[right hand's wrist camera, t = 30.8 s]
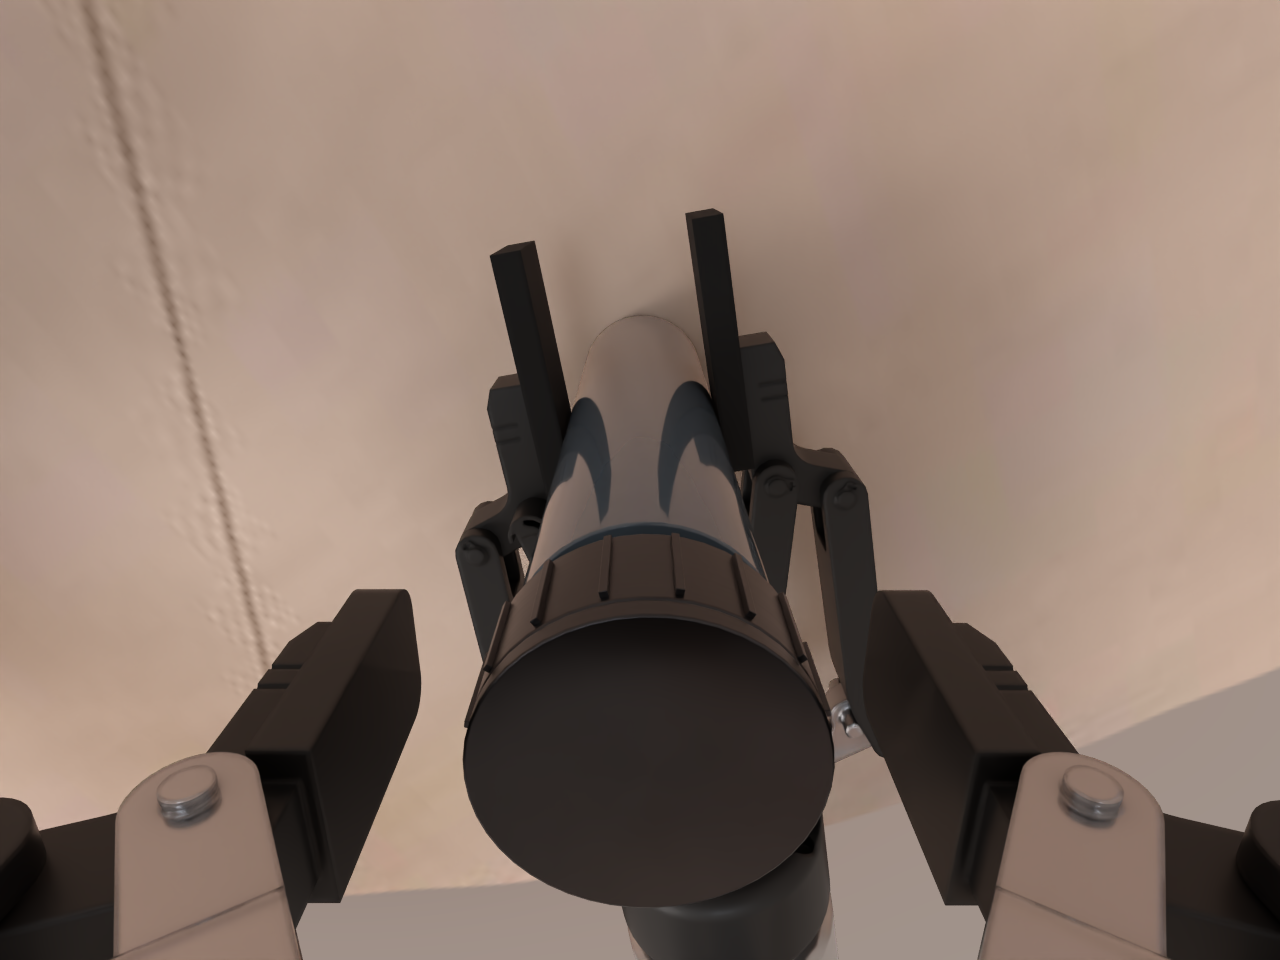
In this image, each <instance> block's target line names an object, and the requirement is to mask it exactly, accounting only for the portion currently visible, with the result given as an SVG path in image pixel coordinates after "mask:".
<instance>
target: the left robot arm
mask: <svg viewBox="0 0 1280 960" xmlns="http://www.w3.org/2000/svg"><path fill="white" fill-rule="evenodd" d="M685 215H686V222H687V229H688V236H689V243H690V250H691V257H692V264H693V271H694V278H695V286H696V293H697V300H698V307H699V314H700V321H701V328H702V335H703V342H704V349H705V356H706V363H707V371H708V378H709V385H710V392H711V399H712V402H713V406H714V409H715V412H716V415H717V418H718V421H719V425H720V428H721V431H722V434H723V437H724V441H725V444H726V447H727V450H728V453H729V456H730V460H731V463H732V466H733V469H734V472H736V471H742V480H741V490H740V491H741V495H742V498H743V501H744V504H745V507H746V511H747V514H748V517H749V520H750V523H751V526H752V530H753V533H754V536H755V539H756V542H757V546H758V549H759V552H760V555H761V558H762V561H763V565H764V568H765V571H766V574H767V577H768V581H769V584H770V585H771V586H772V587H773V588H774V589H775V591H776V592H777V593H778V594H779V593H781V592H783V593H784V594H785V595H786V588H787V580H788V572H789V564H790V556H791V548H792V541H793V533H794V525H795V517H796V509H797V504H801V505H807V506H811V513H812V521H813V528H814V536H815V544H816V552H817V559H818V567H819V575H820V583H821V590H822V598H823V606H824V613H825V621H826V629H827V637H828V644H829V650H830V655H831V659H832V661H833V664H834V667H835V670H836V672H837V675H838V677H839V678H835V679H833V680H831V681H830V683H829V690H828V691H827V693H826V698H827V701H828V704H829V707H830V709H831V716H829V717H827V719H828V722H829V725H830V727H831V732H832V737H833V743H834V757H835V763H836V762H838V761H840V760H842V759H844V758H847V757H849V756H851V755H853V754H855V753H857V752H860V751H862V750H864V749H866V748H868V747H871V746H872V747H873V749H874V751H875V752H876V753H877V754H878V755H879V756H881V757H884V756H883V754H882V752H881V749H880V747H879V744H878V742H877V740H876V737H875V735H874V732H873V730H872V728H871V725H870V723H869V720H868V718H867V714H866V710H865V706H864V699H863V672H864V664H865V656H866V649H867V641H868V633H869V626H870V618H871V610H872V604H873V599H874V596H875V594H876V593H877V582H876V572H875V562H874V552H873V542H872V532H871V521H870V511H869V501H868V493H867V490H866V487H865V485H864V484H863V483H862V481H861V480H860V478H859V477H858V476H857V474H856V473H855V471H854V470H853V469H852V467H851V466H850V464H849V463H848V462H847V460H846V459H845V457H844V456H843V455H842V454H841V453H840V452H839V451H838V450H835V449H833V448H822V449H820V450H811V449H805V448H802V447H798V446H797V445H795V444H793V440H792V430H791V420H790V411H789V401H788V391H787V383H786V372H785V362H784V358H783V357H782V355H781V353H780V351H779V349H778V347H777V346H776V344H775V342H774V341H773V340H772V338H771V337H770V336H769V334H768V333H767V332H761V333H755V334H749V335H743V336H738V328H737V320H736V312H735V304H734V296H733V288H732V280H731V272H730V264H729V256H728V248H727V240H726V232H725V223H724V215H723V213H721V212H719V211H717V210H715V209H713V208H712V209H707V210H701V211H695V212H690V213H685ZM490 259H491V263H492V268H493V272H494V276H495V280H496V285H497V289H498V293H499V297H500V302H501V306H502V310H503V314H504V319H505V323H506V327H507V331H508V335H509V340H510V344H511V348H512V352H513V357H514V361H515V365H516V369H517V374H512V375H506V376H500V377H498V379H497V380H496V382H495V383H494V385H493V386H492V387H491V389H490V392H489V399H488V406H487V411H488V415H489V419H490V423H491V427H492V429H493V434H494V438H495V442H496V446H497V450H498V454H499V458H500V462H501V466H502V470H503V474H504V478H505V481H506V485H507V490H508V493H507V494H506V495H504V496H503V497H501V498H499V499H497V500H495V501H487V502H484V503H481V504H480V505H478V506H477V507H476V508H475V510H474V512H473V514H472V516H471V518H470V520H469V522H468V524H467V526H466V528H465V530H464V532H463V534H462V536H461V538H460V541H459V543H458V545H457V548H456V550H455V552H456V561H457V564H458V568H459V572H460V576H461V580H462V584H463V587H464V591H465V595H466V599H467V603H468V607H469V610H470V614H471V618H472V622H473V626H474V630H475V634H476V637H477V641H478V645H479V649H480V653H481V657H482V660H483V662H484V658H485V655H486V653H487V652H488V651H489V648H490V645H491V642H492V638H493V635H494V632H495V629H496V626H497V623H498V619H499V616H500V613H501V610H502V607H503V605H504V603H505V601H508V602H510V603H511V602H512V600H513V599H514V597H515V596H516V594H517V593H518V592H519V591H520V590H521V589H522V587H523V584H524V580H525V577H524V573H523V568H522V564H521V559H520V555H519V550H518V549H519V548H521V547H522V548H523V550H524V552H525V554H526V556H527V558H528V560H529V562H530V559H531V555H532V552H533V548H534V544H535V541H536V537H537V534H538V530H539V527H540V523H541V519H542V516H543V512H544V509H545V505H546V502H547V498H548V494H549V491H550V487H551V484H552V480H553V477H554V473H555V469H556V466H557V462H558V459H559V455H560V452H561V448H562V444H563V441H564V437H565V434H566V430H567V427H568V423H569V419H570V416H571V409H570V404H569V400H568V395H567V390H566V385H565V381H564V376H563V371H562V367H561V362H560V357H559V353H558V348H557V343H556V339H555V334H554V329H553V325H552V320H551V315H550V311H549V306H548V301H547V297H546V292H545V287H544V282H543V278H542V273H541V268H540V264H539V259H538V254H537V250H536V245H535V241H530V242H524V243H519V244H513V245H508V246H506V247H504V248H502V249H501V250H499V251H497V252H495V253H494V254H492V255H490ZM622 909H623V913H624V916H625V919H626V922H627V925H628V932H629V936H630V940H631V944H632V949H633V953H634V956H635V960H839V958H838V950H837V941H836V932H835V924H834V915H833V908H832V900H831V894H830V878H829V869H828V860H827V851H826V842H825V832H824V823H823V814H821V816H820V818H819V820H818V822H817V824H816V825H815V827H814V828H813V829H812V831H811V832H810V834H809V835H808V837H807V838H806V839H805V841H804V842H803V843H802V844H801V845H800V846H799V847H798V848H797V849H796V850H795V851H794V852H793V854H792V855H790V856H789V857H788V858H787V859H786V860H785V861H783V862H782V863H781V864H780V865H779V866H777V867H776V868H775V869H773V870H772V871H770V872H769V873H767V874H766V875H764V876H763V877H761V878H760V879H758V880H756V881H754V882H752V883H750V884H748V885H746V886H744V887H742V888H740V889H738V890H735V891H733V892H730V893H728V894H725V895H722V896H720V897H716V898H713V899H709V900H705V901H702V902H698V903H692V904H686V905H680V906H672V907H659V908H638V907H624V906H622Z"/></svg>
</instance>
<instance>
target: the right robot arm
mask: <svg viewBox="0 0 1280 960" xmlns="http://www.w3.org/2000/svg"><path fill="white" fill-rule="evenodd" d="M1027 686H1028V685H1027V684H1026V683H1025V681H1024V680H1023V679H1022V677H1021V676H1020V675H1019V673H1018V672H1017V671H1013V665H1012V664H1011V663H1010V661H1009V660H1008V659H1007V657H1006V656H1005V655H1004V653H1003V652H1002V651H1001V649H1000V648H999V647H998V645H997V644H996V643H995V642H993V641H992V640H991V639H989V638H988V637H986V636H985V635H983V634H982V633H980V632H979V631H977V630H976V629H975V628H973V627H972V626H970V625H969V624H967V623H952V622H951V620H950V619H949V617H948V616H947V614H946V613H945V611H944V610H943V608H942V607H941V606H940V604H939V603H938V601H937V600H936V598H935V597H934V595H933V594H932V593H931V592H930V591H927V590H880V591H878V592H877V593H876V594H875V596H874V599H873V604H872V610H871V618H870V626H869V633H868V641H867V649H866V656H865V664H864V672H863V699H864V706H865V710H866V714H867V718H868V720H869V723H870V725H871V728H872V730H873V732H874V735H875V737H876V740H877V742H878V744H879V747H880V749H881V752H882V754H883V756H884V759H885V761H886V764H887V766H888V769H889V771H890V773H891V776H892V778H893V781H894V783H895V785H896V788H897V790H898V793H899V795H900V797H901V800H902V802H903V805H904V807H905V810H906V812H907V814H908V817H909V819H910V821H911V824H912V826H913V829H914V831H915V834H916V836H917V838H918V841H919V843H920V846H921V848H922V850H923V853H924V855H925V858H926V860H927V863H928V865H929V867H930V870H931V872H932V875H933V877H934V879H935V882H936V884H937V887H938V889H939V891H940V894H941V896H942V899H943V901H944V904H945V905H978V906H979V908H980V910H981V912H982V915H983V917H984V919H985V921H986V924H985V928H984V932H983V937H982V941H981V945H980V950H979V954H978V959H977V960H1280V800H1278V801H1270V802H1266V803H1263V804H1261V805H1259V806H1258V807H1256V808H1255V810H1254V811H1253V812H1252V814H1251V817H1250V819H1249V822H1248V824H1247V827H1246V830H1245V832H1240V831H1236V830H1231V829H1227V828H1222V827H1218V826H1214V825H1210V824H1205V823H1201V822H1196V821H1192V820H1188V819H1183V818H1179V817H1175V816H1171V815H1168V814H1165V813H1163V812H1162V810H1161V807H1160V805H1159V804H1158V802H1157V801H1156V799H1155V798H1154V797H1153V796H1152V794H1151V793H1150V792H1149V791H1148V790H1147V789H1146V788H1145V787H1144V786H1143V785H1141V784H1140V783H1139V782H1138V781H1137V780H1135V779H1134V778H1132V777H1131V776H1130V775H1128V774H1127V773H1125V772H1123V771H1121V770H1120V769H1118V768H1116V767H1114V766H1112V765H1110V764H1108V763H1106V762H1103V761H1100V760H1098V759H1095V758H1092V757H1088V756H1085V755H1080V754H1079V753H1078V752H1077V751H1076V749H1075V748H1074V747H1073V745H1072V744H1071V743H1070V741H1069V740H1068V739H1067V737H1066V736H1065V735H1064V733H1063V732H1062V731H1061V729H1060V728H1059V727H1058V725H1057V724H1056V723H1055V721H1054V720H1053V719H1052V717H1051V716H1050V715H1049V713H1048V712H1047V711H1046V709H1045V708H1044V707H1043V705H1042V704H1041V703H1040V701H1039V700H1038V699H1037V697H1036V696H1035V695H1034V693H1033V692H1032V691H1031V690H1028V688H1027ZM420 696H421V672H420V664H419V657H418V649H417V641H416V633H415V625H414V617H413V610H412V603H411V598H410V595H409V593H408V591H407V590H405V589H357V590H355V591H353V592H352V593H351V595H350V596H349V598H348V599H347V601H346V602H345V604H344V605H343V607H342V608H341V610H340V611H339V612H338V614H337V615H336V617H335V618H334V620H333V621H332V622H317V623H315V624H314V625H312V626H311V627H310V628H308V629H307V630H305V631H304V632H302V633H301V634H299V635H298V636H297V637H295V638H294V639H292V640H291V641H289V642H288V644H287V645H286V646H285V648H284V649H283V651H282V652H281V653H280V655H279V656H278V657H277V659H276V660H275V661H274V663H273V664H272V669H268V671H267V672H266V673H265V675H264V676H263V677H262V679H261V680H260V681H259V683H258V688H257V689H254V690H253V691H252V692H251V694H250V695H249V696H248V698H247V699H246V700H245V702H244V703H243V704H242V706H241V707H240V708H239V710H238V711H237V712H236V714H235V715H234V716H233V718H232V719H231V721H230V722H229V723H228V725H227V726H226V727H225V729H224V730H223V731H222V733H221V734H220V735H219V737H218V738H217V739H216V741H215V742H214V743H213V745H212V746H211V747H210V749H209V750H208V751H207V753H205V754H200V755H195V756H192V757H188V758H185V759H182V760H180V761H177V762H174V763H172V764H170V765H168V766H166V767H164V768H162V769H160V770H159V771H157V772H155V773H153V774H152V775H150V776H149V777H148V778H146V779H145V780H143V781H142V782H141V783H140V784H139V785H137V786H136V787H135V788H134V789H133V790H132V791H131V792H130V793H129V794H128V796H127V797H126V798H125V799H124V801H123V802H122V804H121V805H120V807H119V810H118V812H117V813H114V814H110V815H106V816H102V817H97V818H93V819H89V820H84V821H80V822H76V823H71V824H67V825H63V826H58V827H54V828H49V829H45V830H41V831H39V830H38V827H37V825H36V822H35V820H34V817H33V814H32V812H31V810H30V808H29V807H28V806H27V805H26V804H25V803H23V802H21V801H19V800H15V799H12V798H0V960H303V959H302V954H301V950H300V945H299V941H298V937H297V933H296V927H297V925H298V923H299V921H300V919H301V916H302V914H303V912H304V910H305V908H306V905H307V903H340V902H341V900H342V897H343V895H344V892H345V890H346V888H347V885H348V883H349V880H350V878H351V875H352V873H353V870H354V868H355V865H356V863H357V861H358V858H359V856H360V853H361V851H362V848H363V846H364V843H365V841H366V839H367V836H368V834H369V831H370V829H371V826H372V824H373V821H374V819H375V817H376V814H377V812H378V809H379V807H380V804H381V802H382V799H383V797H384V795H385V792H386V790H387V787H388V785H389V782H390V780H391V777H392V775H393V773H394V770H395V768H396V765H397V763H398V760H399V758H400V755H401V753H402V750H403V748H404V746H405V743H406V741H407V738H408V736H409V733H410V731H411V728H412V726H413V724H414V721H415V719H416V716H417V712H418V708H419V703H420Z"/></svg>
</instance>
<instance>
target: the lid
mask: <svg viewBox="0 0 1280 960" xmlns="http://www.w3.org/2000/svg"><path fill="white" fill-rule="evenodd" d="M829 716H831V709H830V707H829V704H828V701H827V698H826V695H825V693H824V690H823V687H822V684H821V681H820V678H819V676H818V673H817V670H816V667H815V664H814V661H813V659H812V656H811V653H810V650H809V647H808V645H807V642H804V643H802V641H801V638H800V635H799V632H798V629H797V626H796V623H795V620H794V617H793V614H792V612H791V609H790V606H789V603H788V600H787V597H786V595H785V594H784V593H783V592H781V593H779V594H778V593H777V592H776V591H775V589H774V588H773V587H772V586H771V585H770V584H769V583H768V582H767V581H766V580H765V579H764V578H763V577H762V576H761V575H760V574H759V573H758V572H756V571H755V570H754V569H752V568H751V567H750V566H748V565H747V564H746V563H744V562H743V561H742V557H741V555H739V554H737V553H734V554H733V556H732V555H731V554H729V553H727V552H725V551H723V550H721V549H718V548H716V547H713V546H711V545H708V544H706V543H703V542H699V541H695V540H691V539H688V538H684V537H680V536H679V534H678V533H671V536H670V535H661V534H636V535H626V536H618V537H613V538H612V535H607V536H604V539H603V540H599V541H596V542H593V543H591V544H588V545H585V546H582V547H579V548H577V549H575V550H573V551H571V552H569V553H567V554H565V555H563V556H561V557H559V558H557V559H556V560H554V561H553V562H552V561H551V559H549V560H547V561H546V562H544V565H543V568H542V569H541V570H540V571H539V572H538V573H537V574H536V575H534V576H533V577H532V578H531V579H530V580H529V581H528V582H527V583H526V584H525V585H524V586H523V588H522V589H521V590H520V591H519V592H518V593H517V594H516V596H515V597H514V599H513V600H512V602H511V603H510V602H508V601H505V603H504V605H503V607H502V610H501V613H500V616H499V619H498V623H497V626H496V629H495V632H494V635H493V638H492V642H491V645H490V648H489V651H488V652H487V653H486V655H485V658H484V662H483V665H482V668H481V671H480V674H479V677H478V680H477V684H476V687H475V690H474V693H473V696H472V699H471V703H470V706H469V709H468V712H467V715H466V718H465V723H464V727H465V728H468V729H467V732H466V736H465V740H464V751H463V770H464V780H465V784H466V788H467V793H468V797H469V800H470V802H471V805H472V807H473V809H474V812H475V814H476V817H477V818H478V820H479V822H480V823H481V825H482V827H483V828H484V830H485V832H486V833H487V834H488V836H489V837H490V838H491V839H492V841H493V842H494V843H495V844H496V845H497V847H498V848H499V849H500V850H501V851H502V852H503V853H504V854H505V855H506V856H507V857H508V858H510V859H511V860H512V861H513V862H514V863H515V864H517V865H518V866H519V867H521V868H522V869H523V870H525V871H526V872H527V873H529V874H530V875H532V876H534V877H535V878H537V879H539V880H540V881H542V882H544V883H546V884H547V885H550V886H552V887H554V888H556V889H559V890H561V891H563V892H565V893H568V894H571V895H574V896H577V897H580V898H584V899H587V900H590V901H595V902H599V903H604V904H609V905H616V906H624V907H638V908H659V907H672V906H680V905H686V904H692V903H698V902H702V901H705V900H709V899H713V898H716V897H720V896H722V895H725V894H728V893H730V892H733V891H735V890H738V889H740V888H742V887H744V886H746V885H748V884H750V883H752V882H754V881H756V880H758V879H760V878H761V877H763V876H764V875H766V874H767V873H769V872H770V871H772V870H773V869H775V868H776V867H777V866H779V865H780V864H781V863H782V862H783V861H785V860H786V859H787V858H788V857H789V856H790V855H792V854H793V852H794V851H795V850H796V849H797V848H798V847H799V846H800V845H801V844H802V843H803V842H804V841H805V839H806V838H807V837H808V835H809V834H810V832H811V831H812V829H813V828H814V827H815V825H816V824H817V822H818V820H819V818H820V816H821V814H822V812H823V810H824V808H825V806H826V803H827V799H828V796H829V793H830V790H831V787H832V781H833V774H834V768H835V757H834V743H833V737H832V732H831V727H830V725H829V722H828V719H827V717H829Z"/></svg>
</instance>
